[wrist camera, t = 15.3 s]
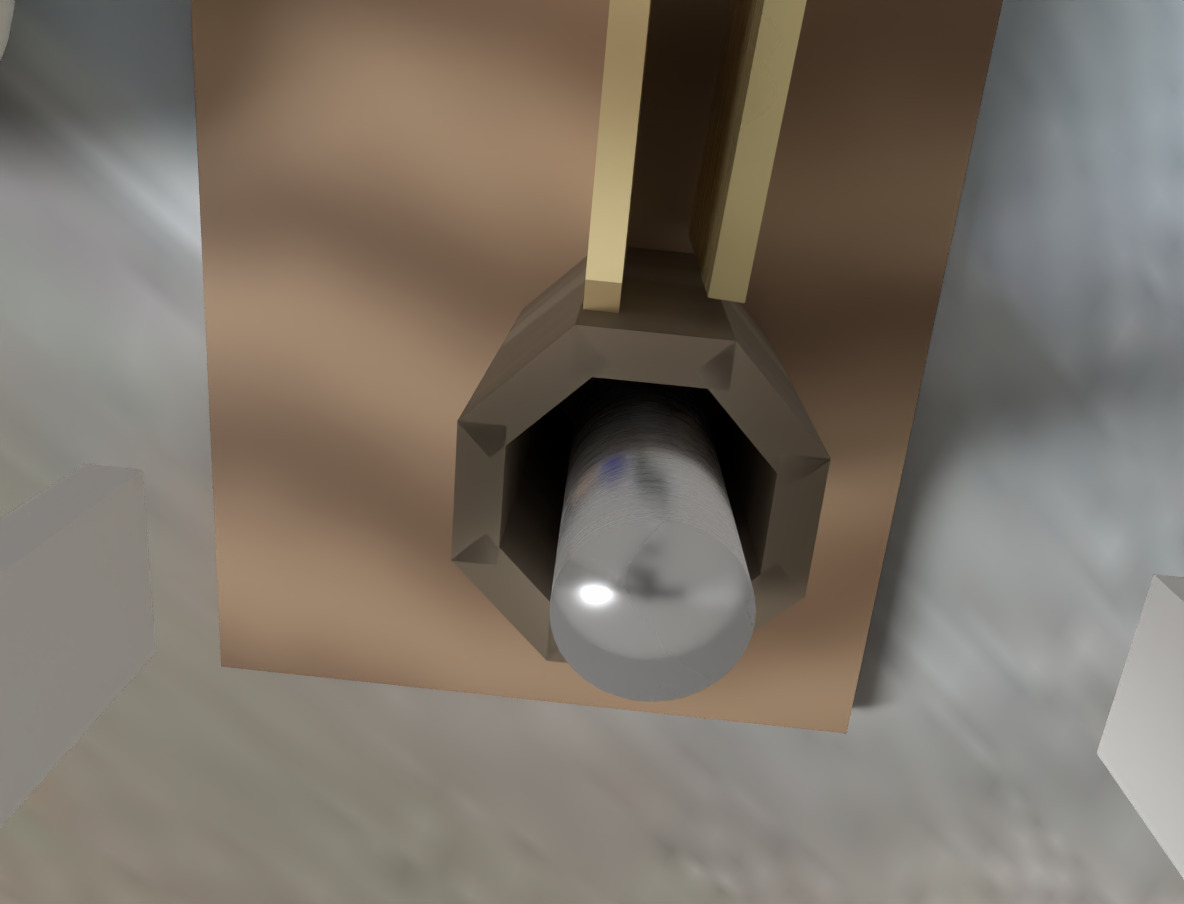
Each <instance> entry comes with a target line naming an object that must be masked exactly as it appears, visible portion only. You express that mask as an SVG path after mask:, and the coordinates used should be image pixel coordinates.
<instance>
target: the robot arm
mask: <svg viewBox="0 0 1184 904" xmlns="http://www.w3.org/2000/svg"><path fill="white" fill-rule="evenodd" d="M155 653H156V647H155V633H154V619H153V605H152V591H151V577H150V564H149V550H148V536H147V522H146V508H145V494H144V481H143V470H141V469H131V468H122V467H112V466H102V465H93V464H84V465H82V466H80V467H79V468H77V469H76V470H74V471H73V472H71V473H70V474H68V475H67V476H65V477H64V478H62V479H60V480H59V481H57V482H56V483H54V484H53V485H51V486H50V487H48V488H47V489H45V490H43V491H42V492H40V493H39V494H37V495H36V496H34V497H33V498H31V499H30V500H28V501H26V502H25V503H23V504H22V505H20V506H19V507H17V508H16V509H14V510H13V511H11V512H10V513H8V514H6V515H5V516H3V517H2V518H0V828H1V827H2V826H3V825H4V824H5V823H6V821H7V820H8V819H9V818H10V817H11V816H12V815H13V814H14V812H15V811H16V810H17V809H18V808H19V807H20V806H21V805H22V803H23V802H24V801H25V800H26V799H27V798H28V797H29V795H30V794H31V793H32V792H33V791H34V790H35V789H36V788H37V786H38V785H39V784H40V783H41V782H42V781H43V780H44V779H45V777H46V776H47V775H48V774H49V773H50V772H51V771H52V770H53V768H54V767H55V766H56V765H57V764H58V763H59V762H60V760H61V759H62V758H63V757H64V756H65V755H66V754H67V753H68V751H69V750H70V749H71V748H72V747H73V746H74V745H75V744H76V742H77V741H78V740H79V739H80V738H81V737H82V736H83V735H84V733H85V732H86V731H87V730H88V729H89V728H90V727H91V725H92V724H93V723H94V722H95V721H96V720H97V719H98V718H99V716H100V715H101V714H102V713H103V712H104V711H105V710H106V709H107V707H108V706H109V705H110V704H111V703H112V702H113V701H114V700H115V698H116V697H117V696H118V695H119V694H120V693H121V692H122V690H123V689H124V688H125V687H126V686H127V685H128V684H129V683H130V681H131V680H132V679H133V678H134V677H135V676H136V675H137V674H138V672H139V671H140V670H141V669H142V668H143V667H144V666H145V665H146V663H147V662H148V661H149V660H150V659H151V658H152V657H153V655H154V654H155ZM1097 754H1098V756H1099V757H1100V759H1101V760H1102V761H1103V763H1104V764H1105V766H1106V767H1107V769H1108V770H1109V772H1110V773H1111V775H1112V776H1113V777H1114V779H1115V780H1116V782H1117V783H1118V785H1119V786H1120V788H1121V789H1122V790H1123V792H1124V793H1125V795H1126V796H1127V798H1128V799H1129V801H1130V802H1131V803H1132V805H1133V806H1134V808H1135V809H1136V811H1137V812H1138V814H1139V815H1140V816H1141V818H1142V819H1143V821H1144V822H1145V824H1146V825H1147V827H1148V828H1149V830H1150V831H1151V832H1152V834H1153V835H1154V837H1155V838H1156V840H1157V841H1158V843H1159V844H1160V845H1161V847H1162V848H1163V850H1164V851H1165V853H1166V854H1167V856H1168V857H1169V858H1170V860H1171V861H1172V863H1173V864H1174V866H1175V867H1176V869H1177V870H1178V871H1179V873H1180V874H1181V876H1182V877H1183V879H1184V577H1175V576H1166V575H1156V574H1154V576H1153V579H1152V582H1151V585H1150V588H1149V592H1148V595H1147V598H1146V601H1145V604H1144V607H1143V610H1142V613H1141V617H1140V620H1139V623H1138V626H1137V629H1136V632H1135V635H1134V638H1133V642H1132V645H1131V648H1130V651H1129V654H1128V657H1127V660H1126V663H1125V667H1124V670H1123V673H1122V676H1121V679H1120V682H1119V685H1118V688H1117V692H1116V695H1115V698H1114V701H1113V704H1112V707H1111V710H1110V713H1109V717H1108V720H1107V723H1106V726H1105V729H1104V732H1103V735H1102V738H1101V742H1100V745H1099V748H1098V751H1097Z"/></svg>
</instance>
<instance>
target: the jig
mask: <svg viewBox="0 0 1184 904" xmlns="http://www.w3.org/2000/svg"><path fill="white" fill-rule="evenodd" d="M1002 1H1003V0H807V1H806V6H805V11H804V16H803V21H802V26H801V30H800V35H799V40H798V45H797V50H796V55H795V60H794V65H793V70H792V74H791V79H790V84H789V89H788V94H787V99H786V104H785V109H784V114H783V119H782V123H781V128H780V133H779V138H778V143H777V148H776V153H775V158H774V163H773V167H772V172H771V177H770V182H769V187H768V192H767V197H766V202H765V207H764V212H763V216H762V221H761V226H760V231H759V236H758V241H757V246H756V251H755V256H754V260H753V265H752V270H751V275H750V280H749V285H748V290H747V295H746V300H745V303H740V302H733V301H727V300H721V299H714V298H708V296H707V293H706V290H705V287H704V284H703V280H702V277H701V274H700V271H699V268H698V265H697V261H696V258H695V255H694V252H693V249H692V246H691V242H690V239H689V236H688V232H689V227H690V221H691V216H692V210H693V204H694V199H695V193H696V188H697V182H698V177H699V171H700V166H701V160H702V154H703V149H704V143H705V138H706V132H707V127H708V121H709V115H710V110H711V104H712V99H713V93H714V88H715V82H716V77H717V71H718V65H719V60H720V54H721V49H722V43H723V38H724V32H725V26H726V21H727V15H728V10H729V4H730V0H191V21H192V42H193V64H194V86H195V107H196V129H197V151H198V172H199V194H200V216H201V237H202V259H203V281H204V302H205V324H206V346H207V367H208V389H209V411H210V432H211V454H212V476H213V497H214V519H215V540H216V562H217V584H218V605H219V627H220V649H221V666H222V667H231V668H240V669H250V670H259V671H268V672H278V673H287V674H297V675H306V676H315V677H325V678H334V679H343V680H353V681H362V682H371V683H381V684H390V685H399V686H409V687H418V688H427V689H437V690H446V691H456V692H465V693H474V694H484V695H493V696H502V697H512V698H521V699H530V700H540V701H549V702H558V703H568V704H577V705H586V706H596V707H605V708H615V709H624V710H633V711H643V712H652V713H661V714H671V715H680V716H689V717H699V718H708V719H717V720H727V721H736V722H745V723H755V724H764V725H774V726H783V727H792V728H802V729H811V730H820V731H830V732H839V733H847V729H848V724H849V719H850V715H851V710H852V705H853V701H854V696H855V691H856V686H857V682H858V677H859V672H860V668H861V663H862V658H863V654H864V649H865V644H866V640H867V635H868V630H869V625H870V621H871V616H872V611H873V607H874V602H875V597H876V593H877V588H878V583H879V579H880V574H881V569H882V564H883V560H884V555H885V550H886V546H887V541H888V536H889V532H890V527H891V522H892V517H893V513H894V508H895V503H896V499H897V494H898V489H899V485H900V480H901V475H902V471H903V466H904V461H905V456H906V452H907V447H908V442H909V438H910V433H911V428H912V424H913V419H914V414H915V410H916V405H917V400H918V395H919V391H920V386H921V381H922V377H923V372H924V367H925V363H926V358H927V353H928V348H929V344H930V339H931V334H932V330H933V325H934V320H935V316H936V311H937V306H938V302H939V297H940V292H941V287H942V283H943V278H944V273H945V269H946V264H947V259H948V255H949V250H950V245H951V241H952V236H953V231H954V226H955V222H956V217H957V212H958V208H959V203H960V198H961V194H962V189H963V184H964V180H965V175H966V170H967V165H968V161H969V156H970V151H971V147H972V142H973V137H974V133H975V128H976V123H977V118H978V114H979V109H980V104H981V100H982V95H983V90H984V86H985V81H986V76H987V72H988V67H989V62H990V57H991V53H992V48H993V43H994V39H995V34H996V29H997V25H998V20H999V15H1000V11H1001V6H1002ZM592 377H597V378H607V379H617V380H627V381H637V382H646V383H656V384H666V385H676V386H686V387H696V388H699V390H700V394H701V397H702V401H703V405H704V408H705V412H706V416H707V420H708V423H709V427H710V431H711V434H712V438H713V442H714V446H715V449H716V453H717V457H718V460H719V464H720V468H721V472H722V475H723V479H724V483H725V487H726V490H727V494H728V498H729V501H730V505H731V509H732V513H733V516H734V520H735V524H736V527H737V531H738V535H739V539H740V542H741V546H742V550H743V553H744V557H745V561H746V565H747V568H748V572H749V576H750V579H751V583H752V587H753V591H754V596H755V604H756V617H755V625H754V629H753V633H752V637H751V639H750V641H749V644H748V646H747V648H746V650H745V652H744V653H743V655H742V657H741V658H740V659H739V661H738V662H737V663H736V664H735V666H734V667H733V668H732V669H731V670H730V671H729V672H728V673H727V674H726V675H725V676H724V677H722V678H721V679H720V680H718V681H717V682H716V683H714V684H712V685H711V686H709V687H707V688H706V689H704V690H702V691H699V692H697V693H695V694H692V695H689V696H686V697H683V698H679V699H674V700H669V701H657V702H648V701H636V700H630V699H625V698H621V697H618V696H615V695H612V694H610V693H607V692H605V691H602V690H601V689H599V688H597V687H595V686H593V685H592V684H590V683H589V682H587V681H586V680H585V679H583V678H582V677H581V676H580V675H579V674H578V673H577V672H575V671H574V670H573V669H572V667H571V666H570V665H569V664H568V663H567V661H566V660H565V658H564V657H563V655H562V654H561V652H560V651H559V648H558V646H557V644H556V642H555V640H554V636H553V633H552V629H551V623H550V599H551V591H552V584H553V576H554V569H555V562H556V554H557V547H558V539H559V532H560V524H561V517H562V509H563V502H564V495H565V487H566V480H567V472H568V465H569V457H570V450H571V443H572V435H573V428H574V420H575V413H576V405H577V398H578V391H579V387H580V386H581V385H583V384H584V383H585V382H586V381H588V380H589V379H590V378H592Z"/></svg>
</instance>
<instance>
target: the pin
mask: <svg viewBox="0 0 1184 904" xmlns="http://www.w3.org/2000/svg"><path fill="white" fill-rule="evenodd" d="M755 617H756V604H755V596H754V591H753V587H752V583H751V579H750V576H749V572H748V568H747V565H746V561H745V557H744V553H743V550H742V546H741V542H740V539H739V535H738V531H737V527H736V524H735V520H734V516H733V513H732V509H731V505H730V501H729V498H728V494H727V490H726V487H725V483H724V479H723V475H722V472H721V468H720V464H719V460H718V457H717V453H716V449H715V446H714V442H713V438H712V434H711V431H710V427H709V423H708V420H707V416H706V412H705V408H704V405H703V401H702V397H701V394H700V390H699V388H696V387H686V386H676V385H666V384H656V383H646V382H637V381H627V380H617V379H607V378H597V377H592V378H590V379H589V380H588V381H586V382H585V383H584V384H583V385H581V386H580V387H579V391H578V398H577V405H576V413H575V420H574V428H573V435H572V443H571V450H570V457H569V465H568V472H567V480H566V487H565V495H564V502H563V509H562V517H561V524H560V532H559V539H558V547H557V554H556V562H555V569H554V576H553V584H552V591H551V599H550V623H551V629H552V633H553V636H554V640H555V642H556V644H557V646H558V648H559V651H560V652H561V654H562V655H563V657H564V658H565V660H566V661H567V663H568V664H569V665H570V666H571V667H572V669H573V670H574V671H575V672H577V673H578V674H579V675H580V676H581V677H582V678H583V679H585V680H586V681H587V682H589V683H590V684H592V685H593V686H595V687H597V688H599V689H601V690H602V691H605V692H607V693H610V694H612V695H615V696H618V697H621V698H625V699H630V700H636V701H648V702H657V701H669V700H674V699H679V698H683V697H686V696H689V695H692V694H695V693H697V692H699V691H702V690H704V689H706V688H707V687H709V686H711V685H712V684H714V683H716V682H717V681H718V680H720V679H721V678H722V677H724V676H725V675H726V674H727V673H728V672H729V671H730V670H731V669H732V668H733V667H734V666H735V664H736V663H737V662H738V661H739V659H740V658H741V657H742V655H743V653H744V652H745V650H746V648H747V646H748V644H749V641H750V639H751V637H752V633H753V629H754V625H755Z"/></svg>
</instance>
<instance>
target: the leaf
mask: <svg viewBox="0 0 1184 904" xmlns="http://www.w3.org/2000/svg"><path fill="white" fill-rule="evenodd" d="M806 1H807V0H730V4H729V10H728V15H727V21H726V26H725V32H724V38H723V43H722V49H721V54H720V60H719V65H718V71H717V77H716V82H715V88H714V93H713V99H712V104H711V110H710V115H709V121H708V127H707V132H706V138H705V143H704V149H703V154H702V160H701V166H700V171H699V177H698V182H697V188H696V193H695V199H694V204H693V210H692V216H691V221H690V227H689V232H688V236H689V239H690V242H691V246H692V249H693V252H694V255H695V258H696V261H697V265H698V268H699V271H700V274H701V277H702V280H703V284H704V287H705V290H706V293H707V296H708V298H714V299H721V300H727V301H733V302H740V303H745V300H746V295H747V290H748V285H749V280H750V275H751V270H752V265H753V260H754V256H755V251H756V246H757V241H758V236H759V231H760V226H761V221H762V216H763V212H764V207H765V202H766V197H767V192H768V187H769V182H770V177H771V172H772V167H773V163H774V158H775V153H776V148H777V143H778V138H779V133H780V128H781V123H782V119H783V114H784V109H785V104H786V99H787V94H788V89H789V84H790V79H791V74H792V70H793V65H794V60H795V55H796V50H797V45H798V40H799V35H800V30H801V26H802V21H803V16H804V11H805V6H806Z"/></svg>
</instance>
